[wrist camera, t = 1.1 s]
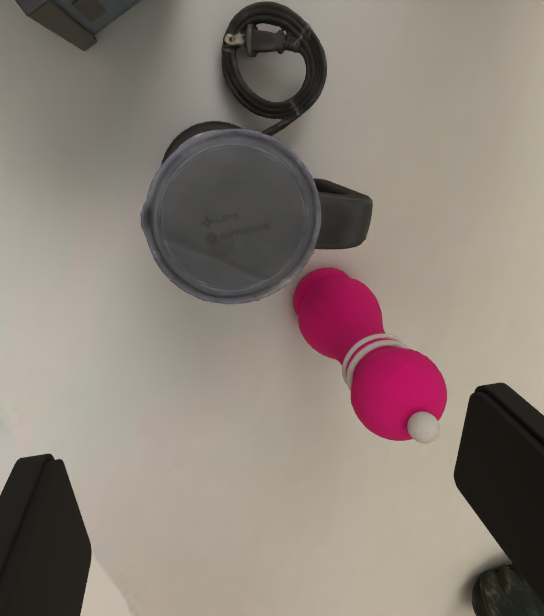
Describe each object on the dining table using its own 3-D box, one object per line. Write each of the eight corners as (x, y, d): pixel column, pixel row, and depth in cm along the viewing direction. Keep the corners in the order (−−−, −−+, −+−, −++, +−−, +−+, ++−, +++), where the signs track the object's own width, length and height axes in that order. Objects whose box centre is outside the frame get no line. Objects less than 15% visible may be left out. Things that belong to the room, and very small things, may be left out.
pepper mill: (305, 252, 39) (409, 370, 21) (370, 274, 41) (514, 398, 23) (276, 319, 41) (349, 476, 24) (340, 337, 44) (449, 492, 26)
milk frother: (176, 247, 36) (173, 324, 23) (110, 35, 29) (54, -26, 16) (332, 209, 38) (413, 262, 25) (305, -3, 31) (400, -88, 17)
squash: (578, 613, 69) (634, 676, 54) (496, 653, 70) (529, 724, 56) (522, 529, 72) (560, 567, 58) (446, 569, 74) (464, 616, 60)
